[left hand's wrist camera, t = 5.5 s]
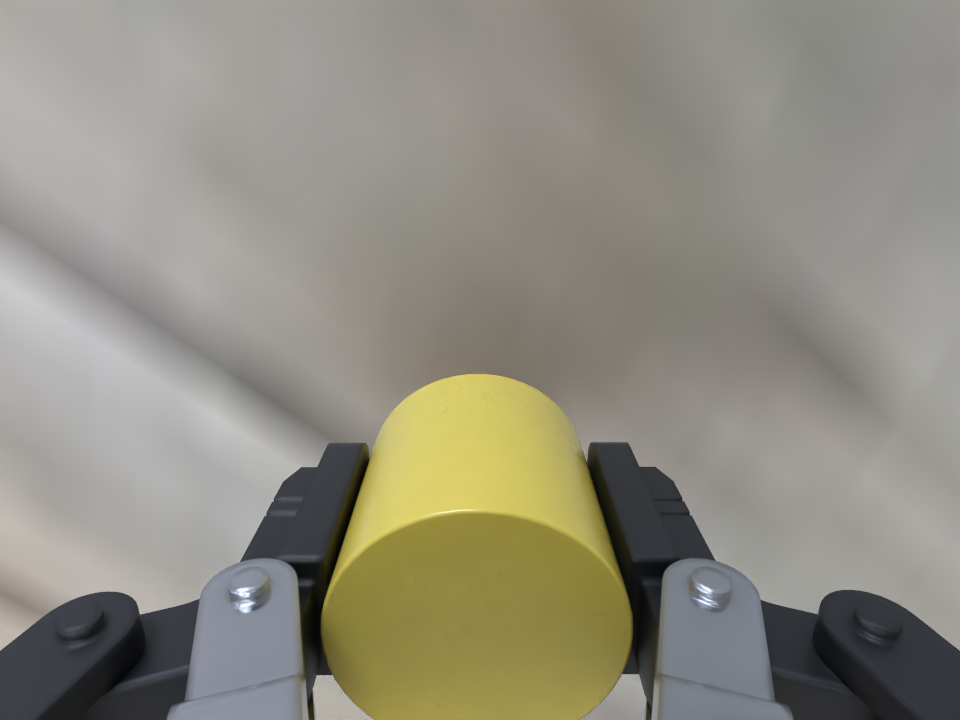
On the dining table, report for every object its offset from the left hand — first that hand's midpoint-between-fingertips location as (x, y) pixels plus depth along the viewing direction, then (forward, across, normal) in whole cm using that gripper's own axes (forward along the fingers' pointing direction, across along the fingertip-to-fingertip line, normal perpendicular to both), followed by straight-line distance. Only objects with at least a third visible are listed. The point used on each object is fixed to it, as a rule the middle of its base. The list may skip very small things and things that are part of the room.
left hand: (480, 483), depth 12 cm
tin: (+1, 0, 0) cm, 1 cm away
